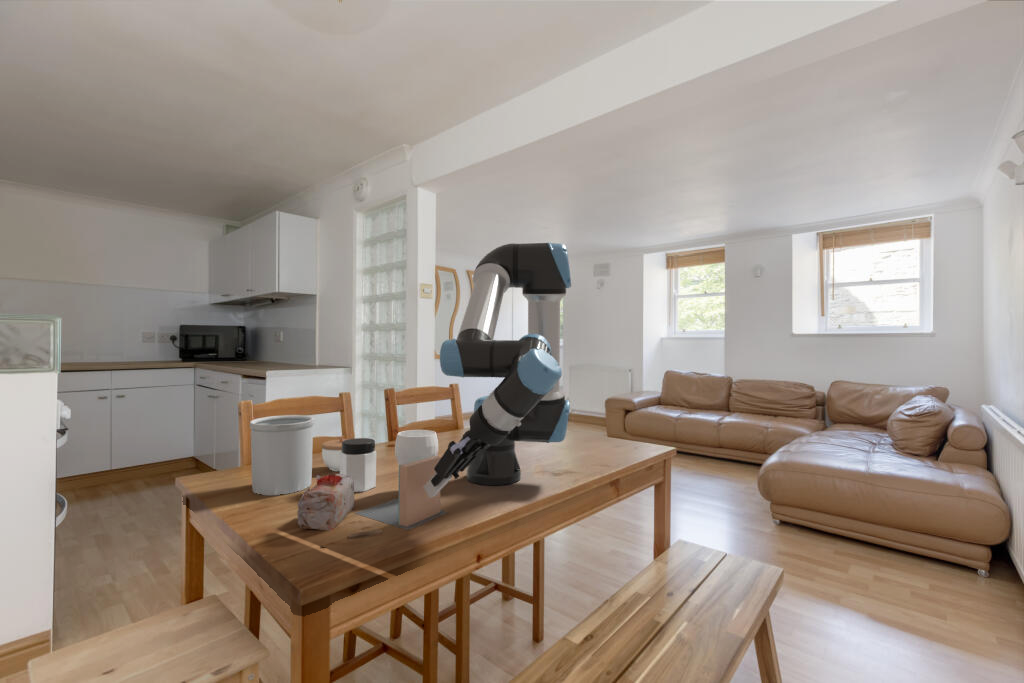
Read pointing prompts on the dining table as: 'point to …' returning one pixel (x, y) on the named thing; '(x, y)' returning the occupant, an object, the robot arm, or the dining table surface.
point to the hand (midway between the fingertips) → (429, 491)
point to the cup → (415, 445)
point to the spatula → (363, 534)
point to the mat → (392, 514)
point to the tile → (416, 491)
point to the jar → (359, 462)
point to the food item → (326, 502)
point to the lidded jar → (332, 453)
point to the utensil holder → (281, 454)
